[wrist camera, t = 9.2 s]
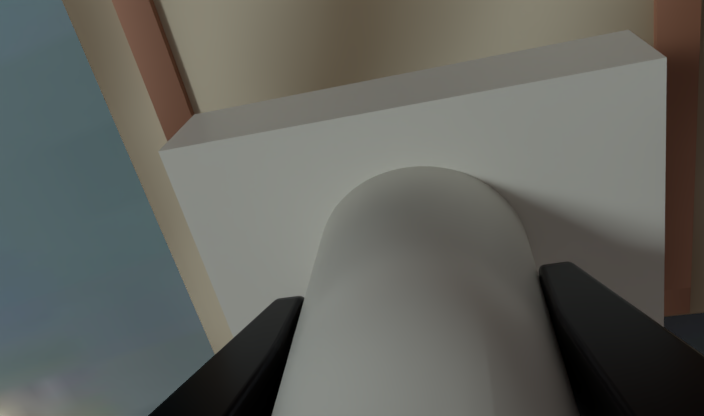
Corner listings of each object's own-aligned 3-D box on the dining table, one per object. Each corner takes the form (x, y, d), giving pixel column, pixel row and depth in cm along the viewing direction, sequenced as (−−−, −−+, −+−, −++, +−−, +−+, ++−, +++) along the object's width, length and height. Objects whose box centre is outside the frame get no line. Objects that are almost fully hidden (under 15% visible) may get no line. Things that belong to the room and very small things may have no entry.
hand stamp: (616, 21, 9) (1748, 839, 1) (623, 280, 12) (1072, 1171, 4) (205, 103, 11) (-428, 753, 3) (281, 321, 13) (55, 1033, 5)
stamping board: (1726, -537, 8) (1915, -597, 7) (1298, 218, 14) (1371, 246, 13) (56, -76, 13) (25, -72, 12) (228, 342, 19) (217, 369, 18)
